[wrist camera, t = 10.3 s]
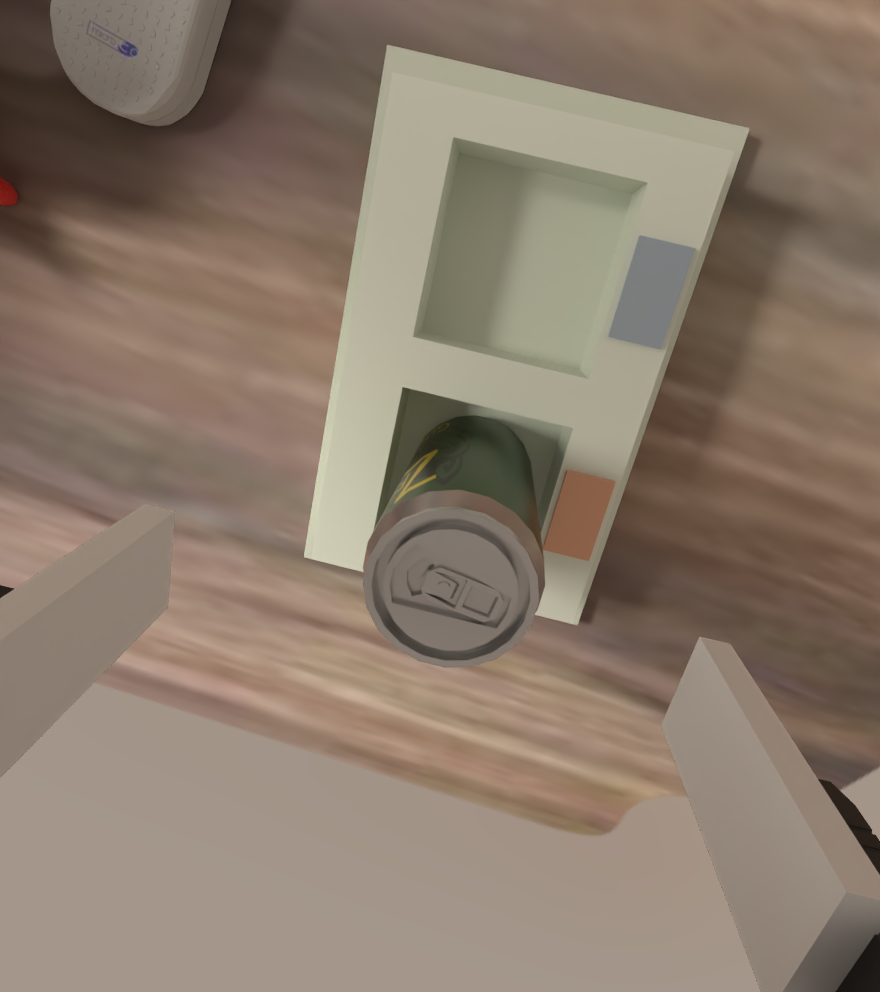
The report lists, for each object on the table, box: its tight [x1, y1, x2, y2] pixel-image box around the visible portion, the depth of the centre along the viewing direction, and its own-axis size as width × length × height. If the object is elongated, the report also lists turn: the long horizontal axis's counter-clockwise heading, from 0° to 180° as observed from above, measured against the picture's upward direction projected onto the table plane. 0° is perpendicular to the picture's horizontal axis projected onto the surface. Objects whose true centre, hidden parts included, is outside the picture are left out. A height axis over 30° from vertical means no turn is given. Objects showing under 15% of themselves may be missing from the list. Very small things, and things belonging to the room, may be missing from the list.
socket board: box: [304, 45, 750, 625], centre depth 26 cm, size 14×22×4 cm, turn 167°
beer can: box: [363, 415, 545, 667], centre depth 23 cm, size 5×5×12 cm
